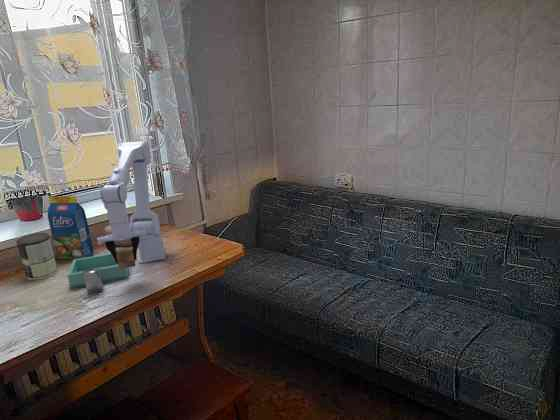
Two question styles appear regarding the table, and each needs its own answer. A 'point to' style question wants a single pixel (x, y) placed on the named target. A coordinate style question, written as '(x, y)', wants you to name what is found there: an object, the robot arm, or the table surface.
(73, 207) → the blue food package
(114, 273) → the tote
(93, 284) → the metal cylinder
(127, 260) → the walnut cube
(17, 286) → the table surface
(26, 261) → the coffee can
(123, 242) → the food item
